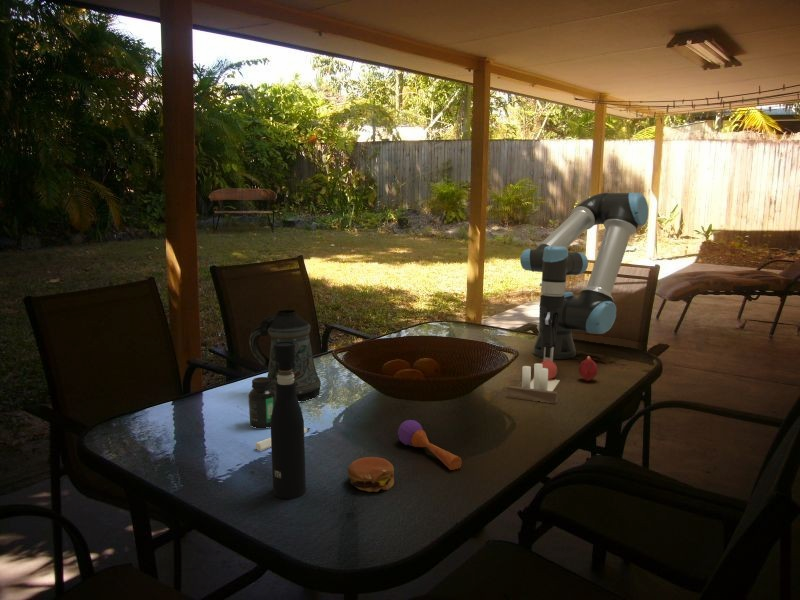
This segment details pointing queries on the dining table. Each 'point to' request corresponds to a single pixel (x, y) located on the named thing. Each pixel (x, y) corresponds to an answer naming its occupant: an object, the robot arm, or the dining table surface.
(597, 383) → the dining table surface
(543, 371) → the back pin left
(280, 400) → the black water bottle
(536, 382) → the front pin
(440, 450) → the maraca
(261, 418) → the supplement bottle
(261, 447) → the marker
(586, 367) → the onion
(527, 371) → the back pin right
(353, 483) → the burger
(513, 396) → the backstop
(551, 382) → the cream flat rectangular slab
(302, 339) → the beer stein
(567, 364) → the dining table surface
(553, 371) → the ball
